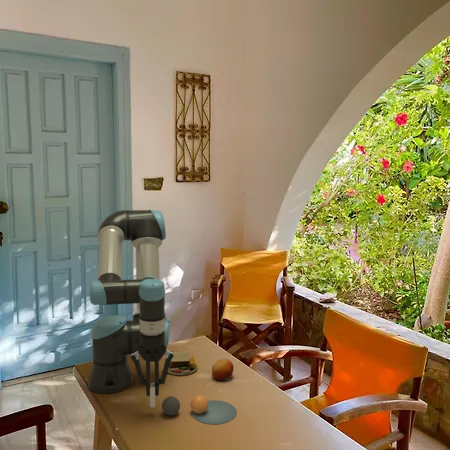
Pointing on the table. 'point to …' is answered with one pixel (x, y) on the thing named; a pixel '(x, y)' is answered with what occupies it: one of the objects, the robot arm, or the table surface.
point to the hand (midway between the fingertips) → (152, 404)
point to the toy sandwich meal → (182, 364)
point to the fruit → (222, 369)
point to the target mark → (216, 413)
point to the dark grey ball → (171, 405)
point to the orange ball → (199, 404)
